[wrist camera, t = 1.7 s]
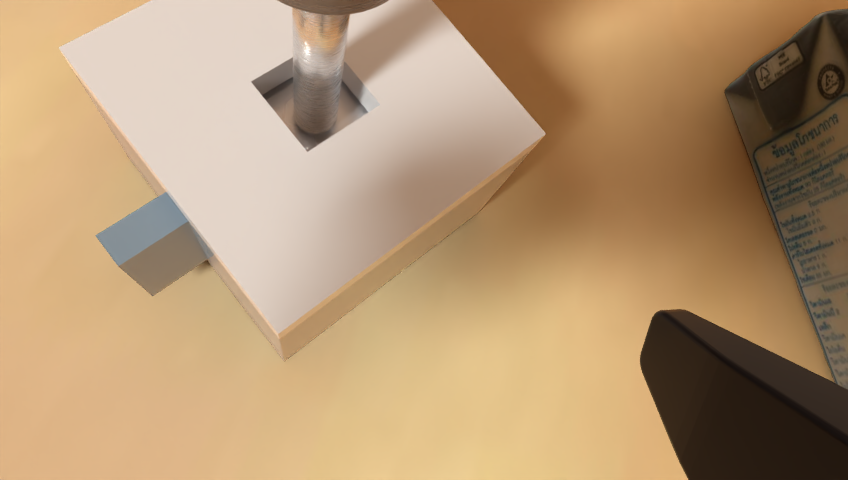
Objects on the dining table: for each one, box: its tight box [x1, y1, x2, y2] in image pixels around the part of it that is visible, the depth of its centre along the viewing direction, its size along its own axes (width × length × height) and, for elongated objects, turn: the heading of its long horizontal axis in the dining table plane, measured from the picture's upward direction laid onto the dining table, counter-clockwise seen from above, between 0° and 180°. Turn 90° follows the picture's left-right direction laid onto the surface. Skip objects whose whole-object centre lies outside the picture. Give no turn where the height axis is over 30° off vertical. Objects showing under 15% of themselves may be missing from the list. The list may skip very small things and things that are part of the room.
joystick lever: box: [262, 0, 389, 152], centre depth 13 cm, size 7×7×10 cm
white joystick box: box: [59, 0, 546, 361], centre depth 20 cm, size 9×11×7 cm
